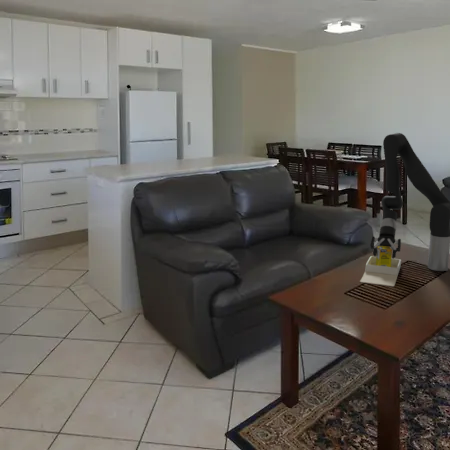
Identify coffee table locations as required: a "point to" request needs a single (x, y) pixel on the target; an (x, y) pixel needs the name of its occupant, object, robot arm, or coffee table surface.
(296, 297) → the coffee table surface
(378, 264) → the supplement box
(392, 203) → the robot arm
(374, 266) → the box
